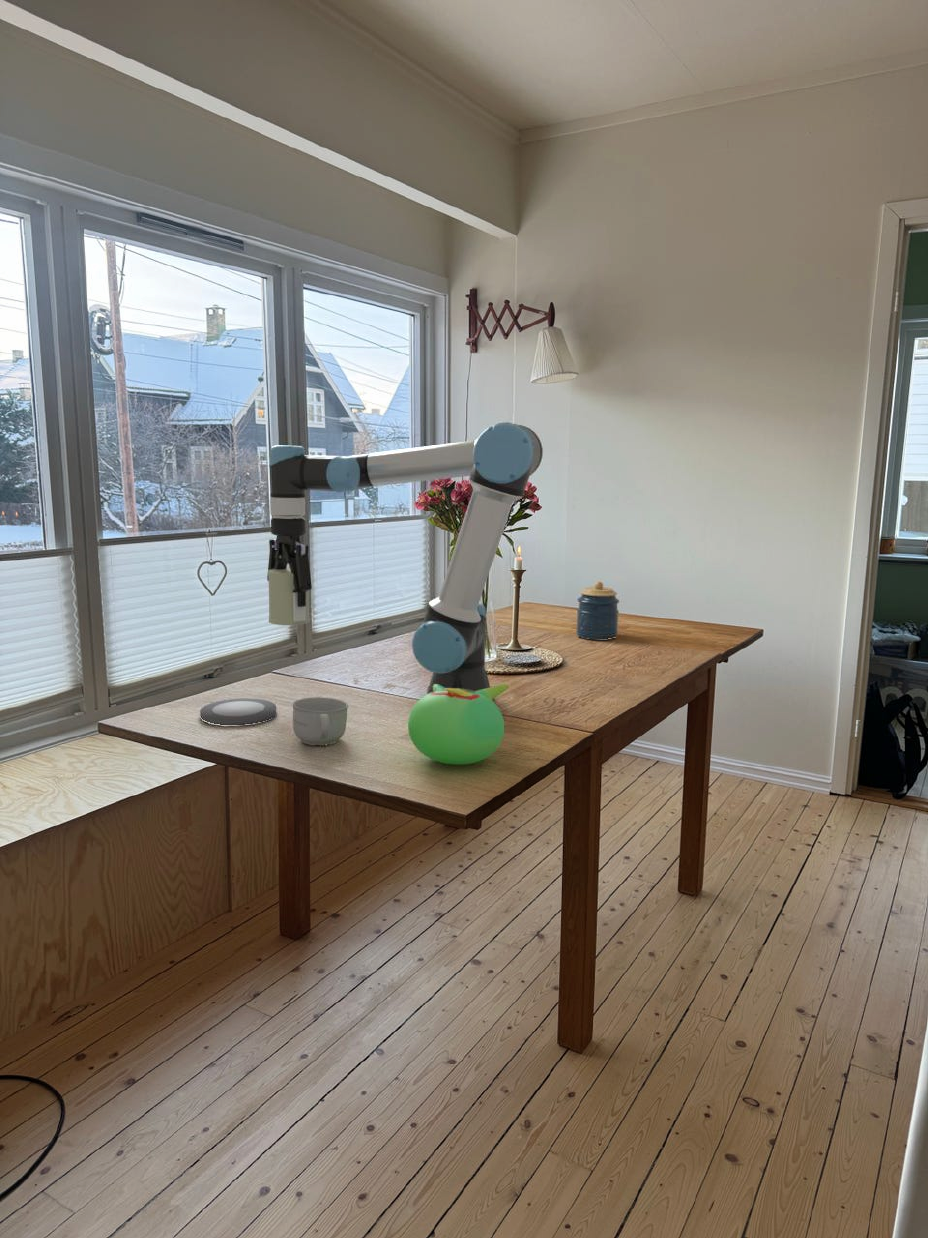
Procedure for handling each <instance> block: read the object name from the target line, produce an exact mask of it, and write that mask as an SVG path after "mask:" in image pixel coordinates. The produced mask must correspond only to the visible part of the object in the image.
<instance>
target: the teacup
mask: <svg viewBox="0 0 928 1238" xmlns="http://www.w3.org/2000/svg"><path fill="white" fill-rule="evenodd" d="M348 708H349V703H347V702H346V701H344V700H342V699H337V698H333V697H323V696H322V697H321V696H320V697H319V696H317V697H315V696H314V697H306V698H301V699H297V700H295V701H293V702H292V728H293V729H292V730H293V732H294V734H295V737H297V738H298V739H299V740H301V742H302V743H304V744H306V745H308V744H310V745H309V746H315V745H325V746H327V745H326V744H331V743H333V744H335V743H336V742H337V741H339V740H340V739H341V738H342V737H343V736H344V735H345V733H346V729H347V721H348ZM334 742H335V743H334ZM331 745H332V744H331Z"/></svg>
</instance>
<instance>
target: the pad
mask: <svg viewBox="0 0 928 1238" xmlns="http://www.w3.org/2000/svg"><path fill="white" fill-rule="evenodd" d="M199 714H200V716H201V718H202V719H203V720H205V721H207V722H210V723H214V724H220V725H245V724H253V723H258V722H263V721H266V720H269V719H271V718H273V717H274V718H275V717H276V716H277V706H276V704H275V703H274V702H271V701H269V700H266V699H259V698H231V699H224V700H223V699H222V700H220V701H215V702H211V703H209V704H207V705H204V706H203V707H202V708H200V711H199ZM275 715H276V716H275ZM201 718H200V719H201ZM274 718H273V719H274ZM271 720H272V719H271ZM269 721H270V720H269ZM266 722H267V721H266ZM263 723H264V722H263Z"/></svg>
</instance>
